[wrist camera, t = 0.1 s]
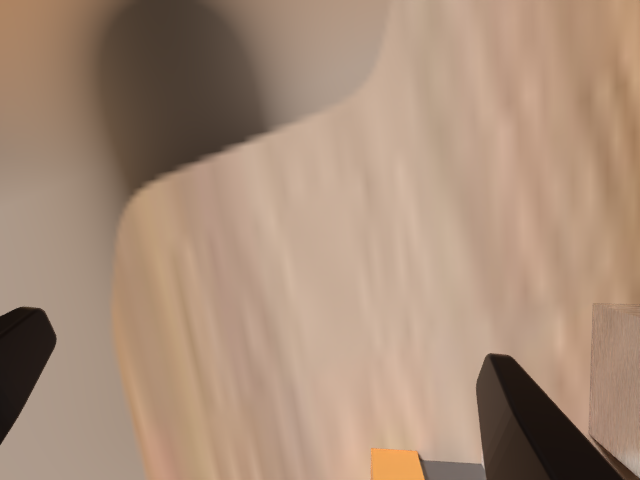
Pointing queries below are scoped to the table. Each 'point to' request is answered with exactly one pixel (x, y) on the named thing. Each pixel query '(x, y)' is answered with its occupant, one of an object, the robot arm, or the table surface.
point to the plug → (420, 467)
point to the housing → (616, 382)
